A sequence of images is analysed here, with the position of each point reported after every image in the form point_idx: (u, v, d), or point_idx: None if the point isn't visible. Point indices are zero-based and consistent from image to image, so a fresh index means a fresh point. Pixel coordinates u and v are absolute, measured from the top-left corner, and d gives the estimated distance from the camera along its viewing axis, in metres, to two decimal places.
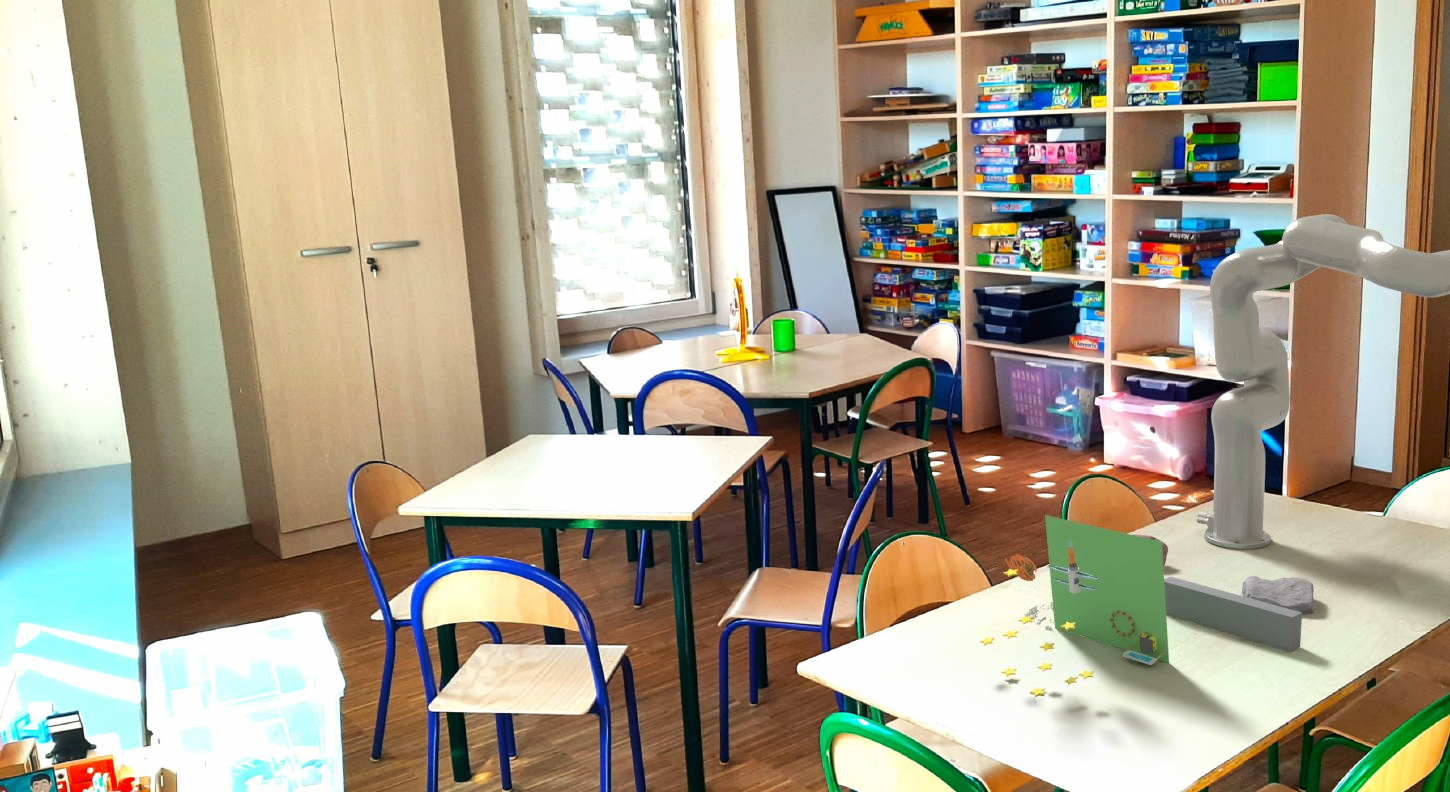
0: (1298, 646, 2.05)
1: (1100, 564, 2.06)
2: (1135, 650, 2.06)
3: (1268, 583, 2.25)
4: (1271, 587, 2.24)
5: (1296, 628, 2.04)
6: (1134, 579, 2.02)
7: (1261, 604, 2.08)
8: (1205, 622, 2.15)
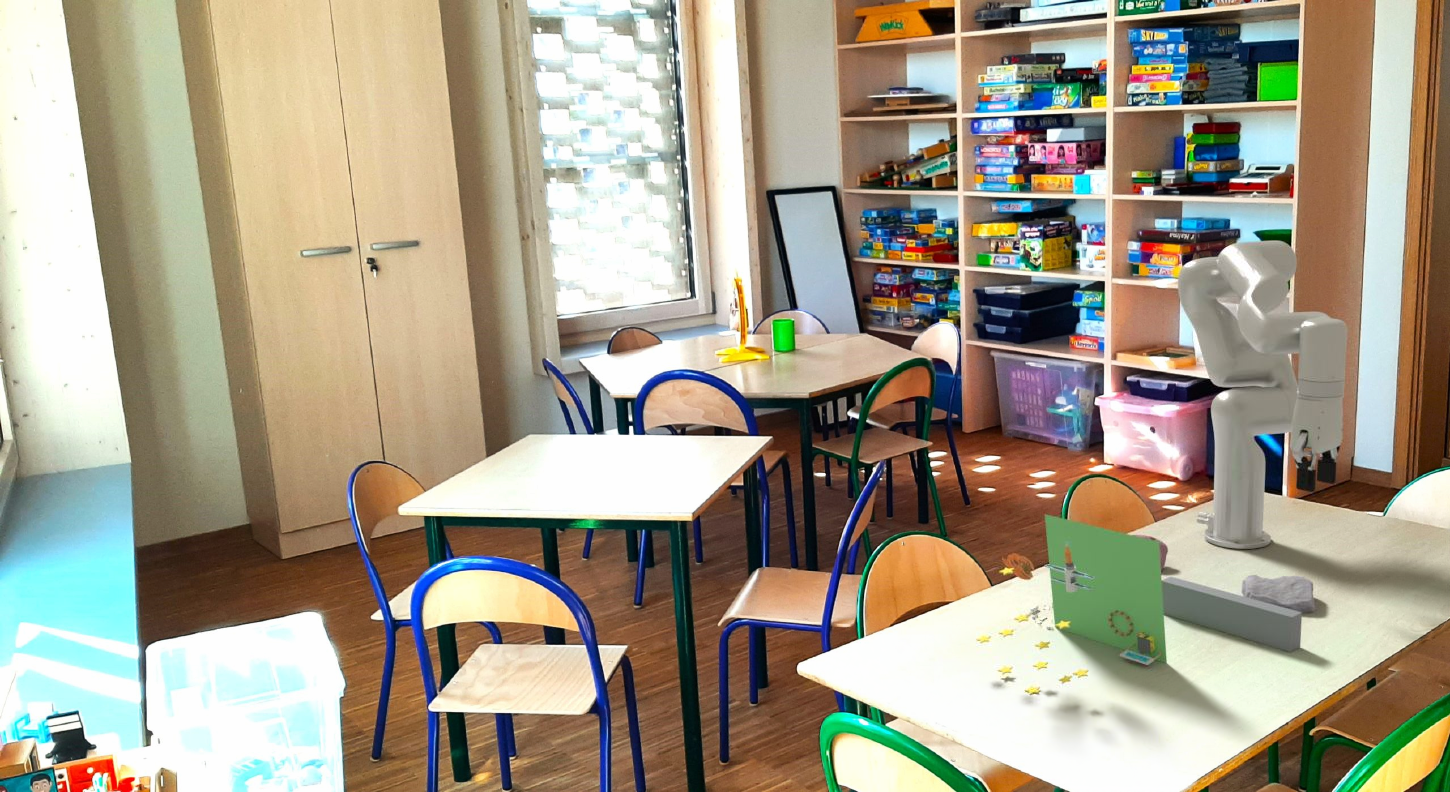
0: (1298, 646, 2.05)
1: (1099, 564, 2.07)
2: (1133, 650, 2.07)
3: (1268, 582, 2.26)
4: (1271, 585, 2.24)
5: (1296, 628, 2.04)
6: (1132, 579, 2.02)
7: (1261, 604, 2.08)
8: (1205, 622, 2.15)
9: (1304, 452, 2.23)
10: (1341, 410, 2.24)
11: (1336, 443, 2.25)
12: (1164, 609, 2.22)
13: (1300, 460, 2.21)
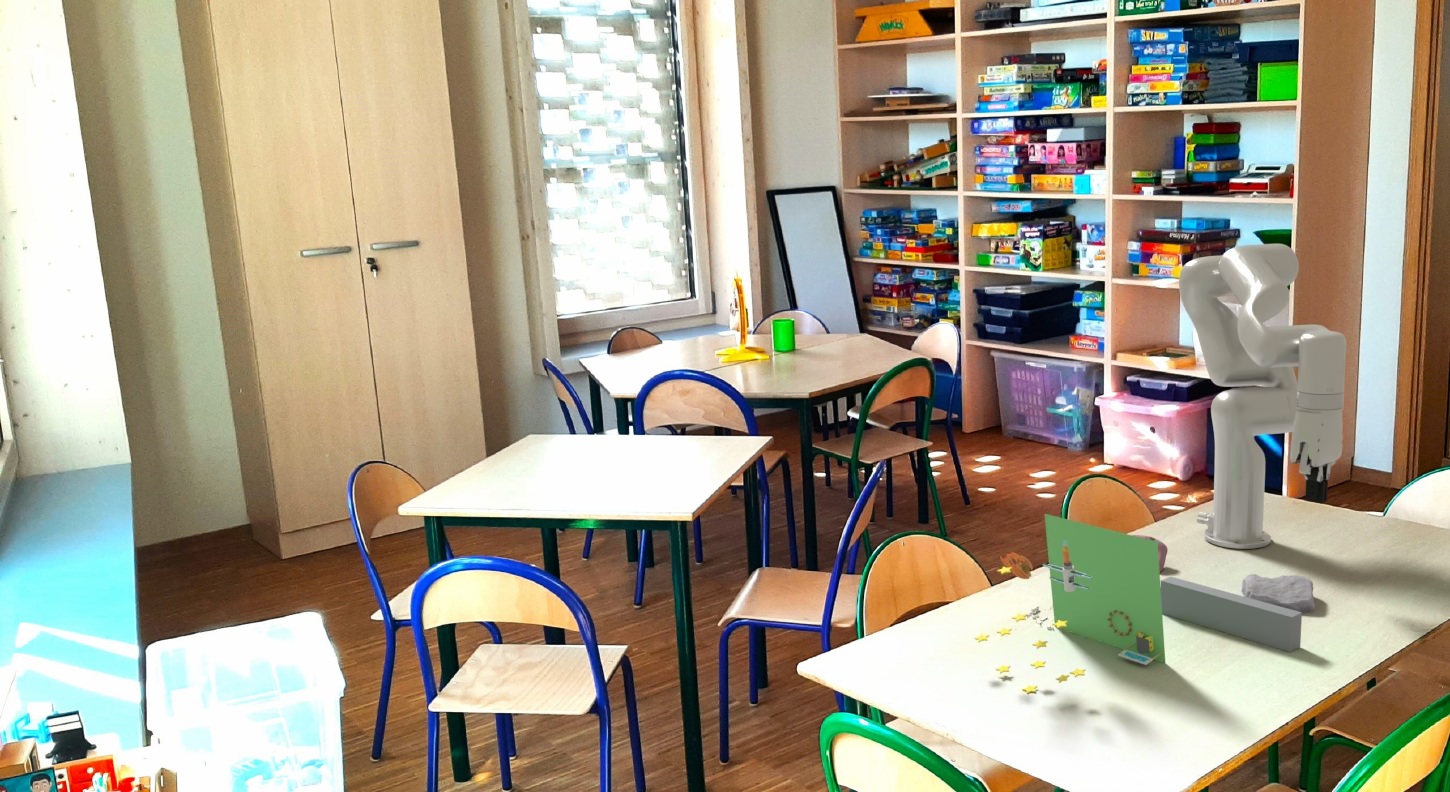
0: (1298, 646, 2.05)
1: (1098, 564, 2.07)
2: (1132, 650, 2.07)
3: (1268, 581, 2.26)
4: (1271, 584, 2.25)
5: (1296, 628, 2.04)
6: (1131, 579, 2.02)
7: (1261, 604, 2.08)
8: (1205, 622, 2.15)
9: (1309, 466, 2.24)
10: (1341, 422, 2.24)
11: (1336, 455, 2.25)
12: (1164, 609, 2.22)
13: None
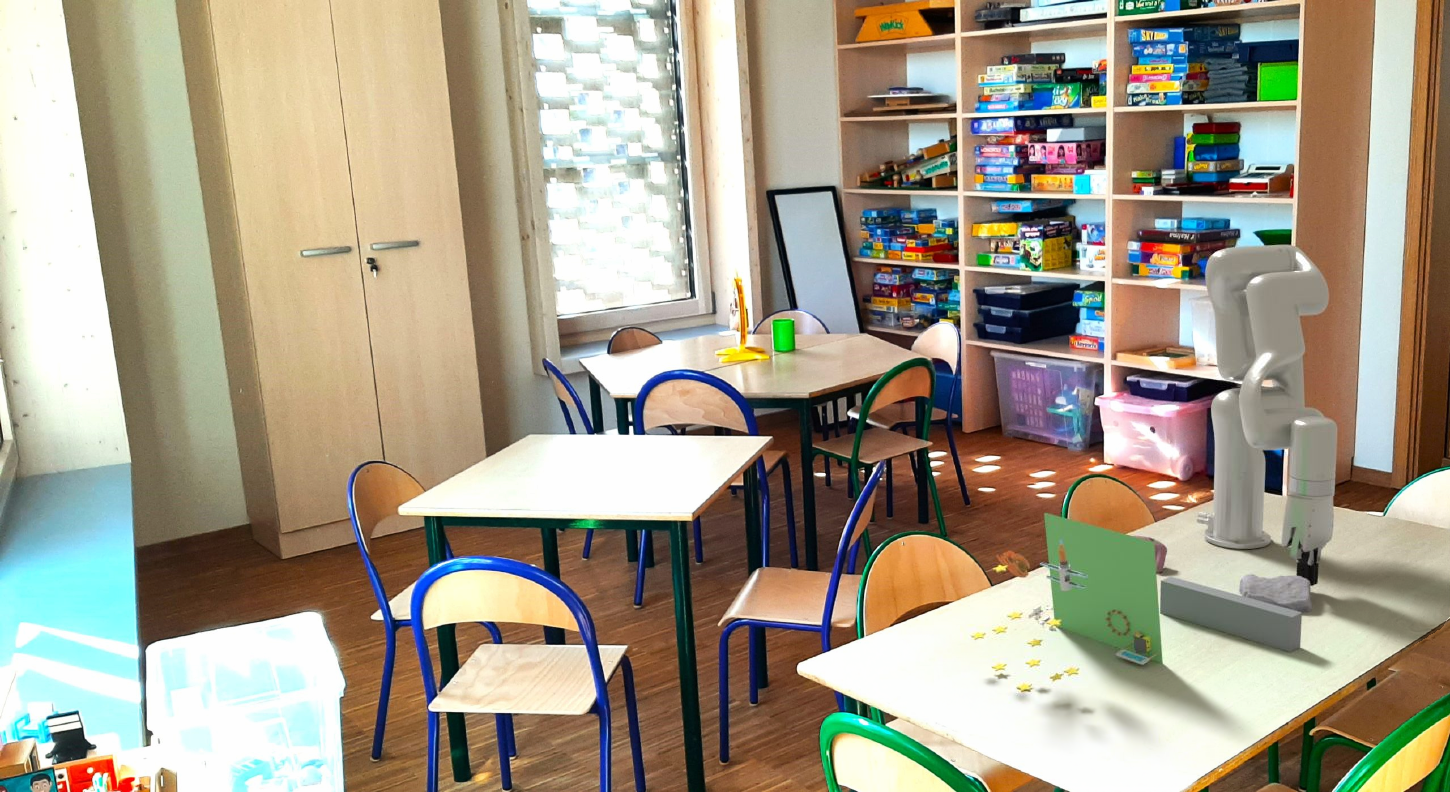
0: (1298, 646, 2.05)
1: (1096, 563, 2.07)
2: (1130, 649, 2.07)
3: (1265, 581, 2.27)
4: (1268, 585, 2.25)
5: (1296, 628, 2.04)
6: (1129, 579, 2.02)
7: (1261, 604, 2.08)
8: (1205, 622, 2.15)
9: None
10: (1332, 507, 2.26)
11: (1327, 538, 2.27)
12: (1164, 609, 2.22)
13: (1300, 558, 2.25)
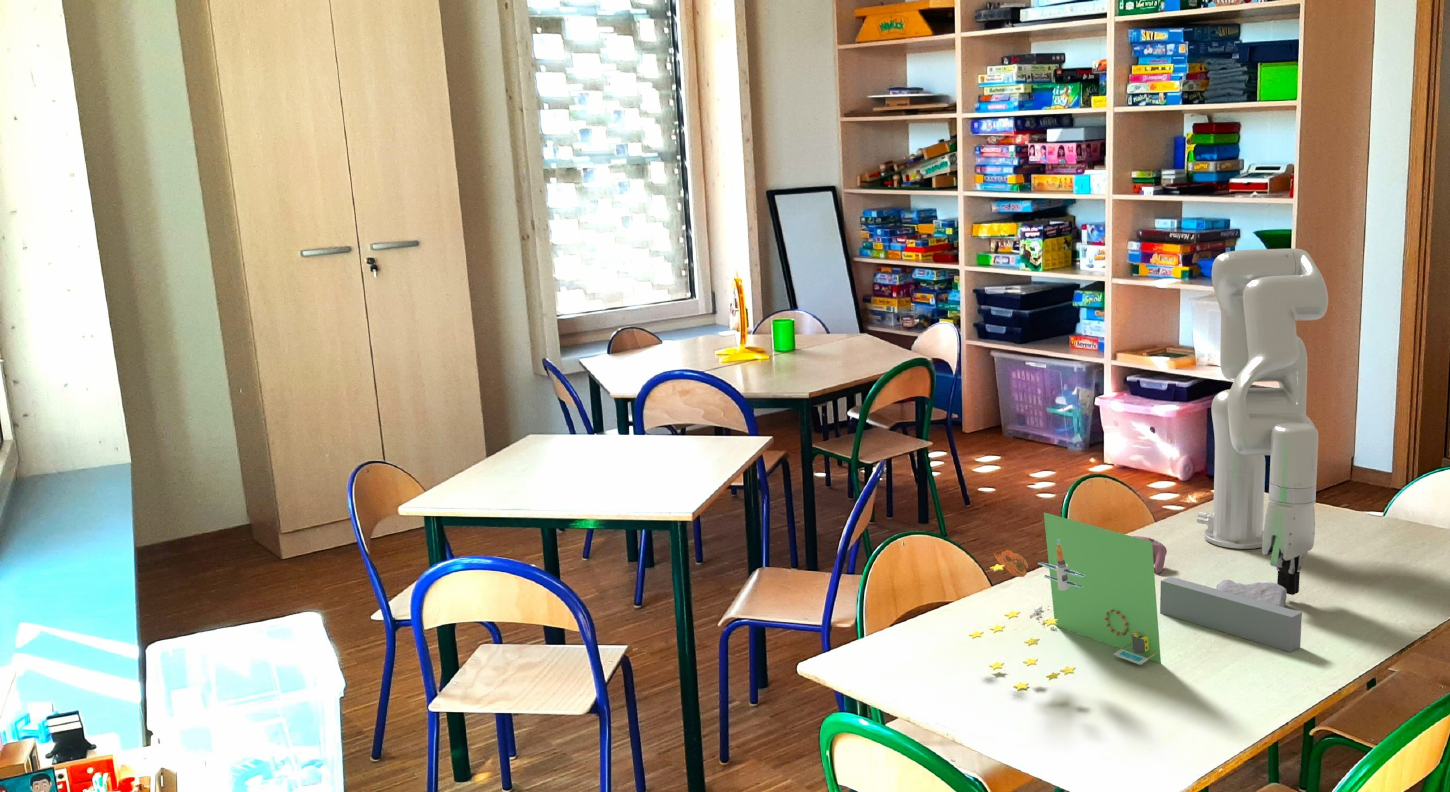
0: (1298, 646, 2.05)
1: (1095, 563, 2.07)
2: (1129, 649, 2.07)
3: (1239, 587, 2.24)
4: (1242, 591, 2.22)
5: (1296, 628, 2.04)
6: (1127, 579, 2.03)
7: (1261, 604, 2.08)
8: (1205, 622, 2.15)
9: (1281, 558, 2.23)
10: (1313, 514, 2.22)
11: (1308, 547, 2.23)
12: (1164, 609, 2.22)
13: (1281, 566, 2.22)
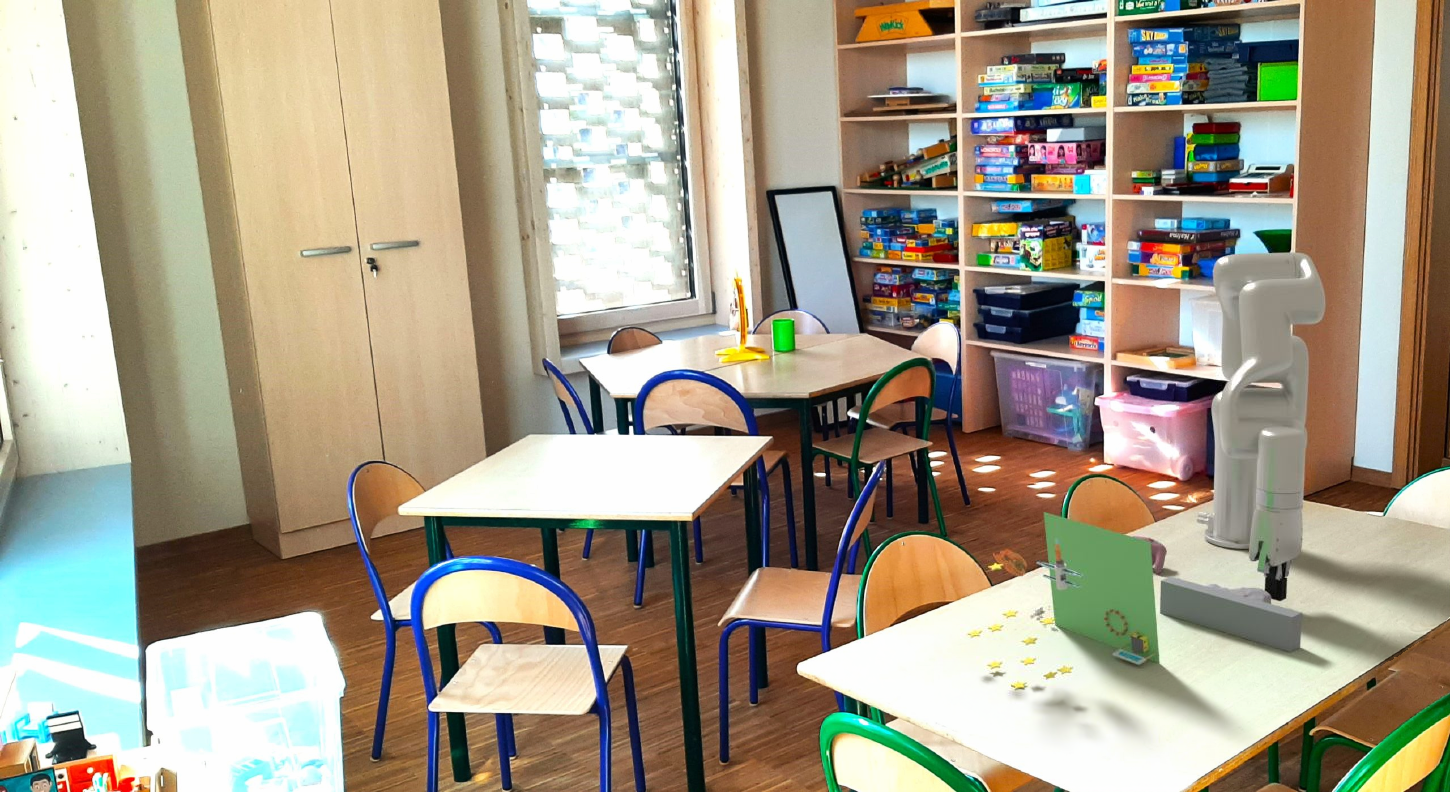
0: (1298, 646, 2.05)
1: (1095, 563, 2.07)
2: (1128, 649, 2.07)
3: None
4: None
5: (1296, 628, 2.04)
6: (1126, 579, 2.03)
7: (1261, 604, 2.08)
8: (1205, 622, 2.15)
9: (1268, 563, 2.20)
10: (1300, 520, 2.20)
11: (1295, 552, 2.21)
12: (1164, 609, 2.22)
13: (1268, 572, 2.19)
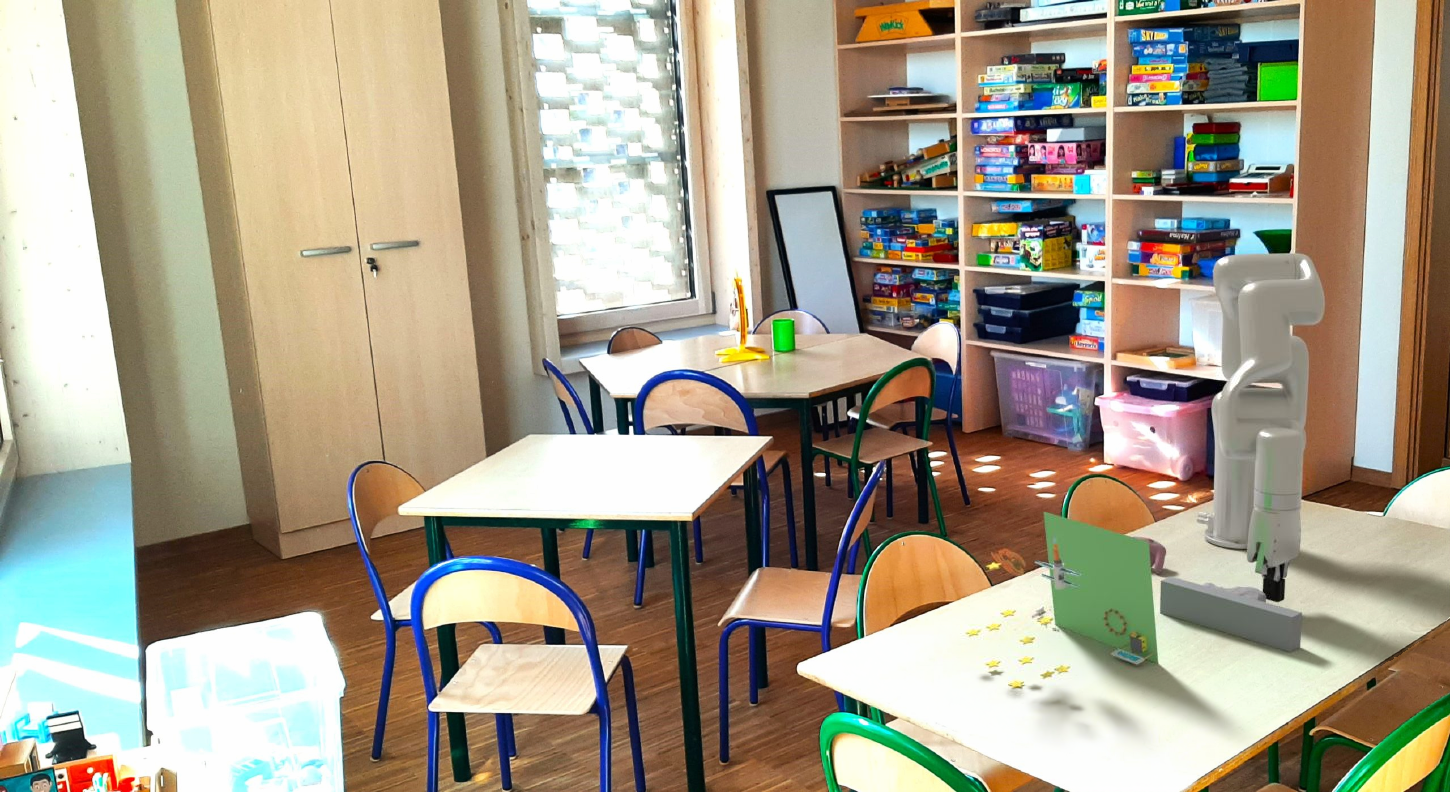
0: (1298, 646, 2.05)
1: (1094, 562, 2.07)
2: (1127, 649, 2.07)
3: None
4: None
5: (1296, 628, 2.04)
6: (1125, 578, 2.03)
7: (1261, 604, 2.08)
8: (1205, 622, 2.15)
9: (1266, 565, 2.20)
10: (1299, 521, 2.20)
11: (1293, 554, 2.20)
12: (1164, 609, 2.22)
13: (1266, 573, 2.19)
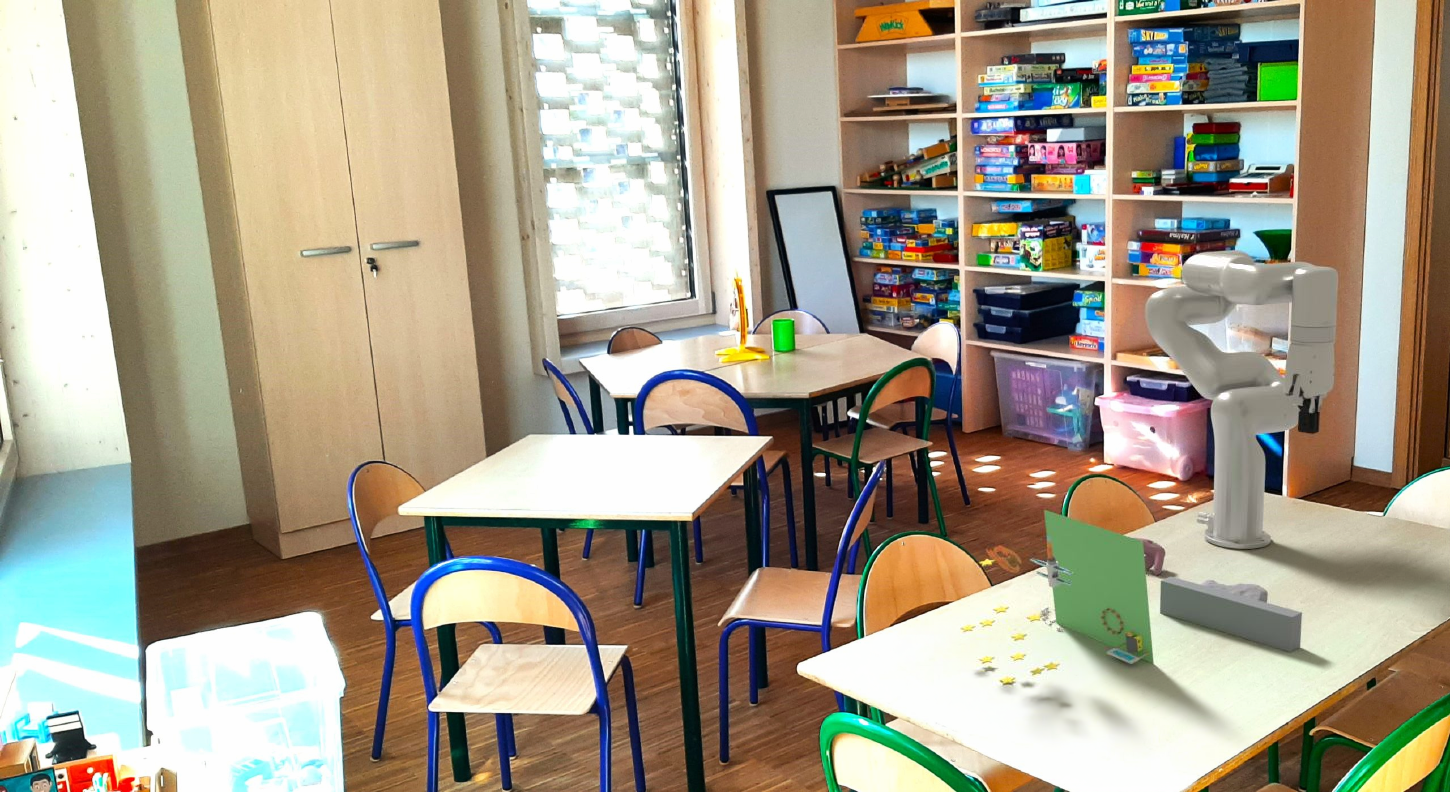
0: (1298, 646, 2.05)
1: (1092, 561, 2.08)
2: (1124, 649, 2.07)
3: (1220, 588, 2.24)
4: None
5: (1296, 628, 2.04)
6: (1121, 578, 2.03)
7: (1261, 604, 2.08)
8: (1205, 622, 2.15)
9: (1301, 398, 2.32)
10: (1332, 356, 2.32)
11: (1328, 387, 2.32)
12: (1164, 609, 2.22)
13: (1302, 405, 2.31)
